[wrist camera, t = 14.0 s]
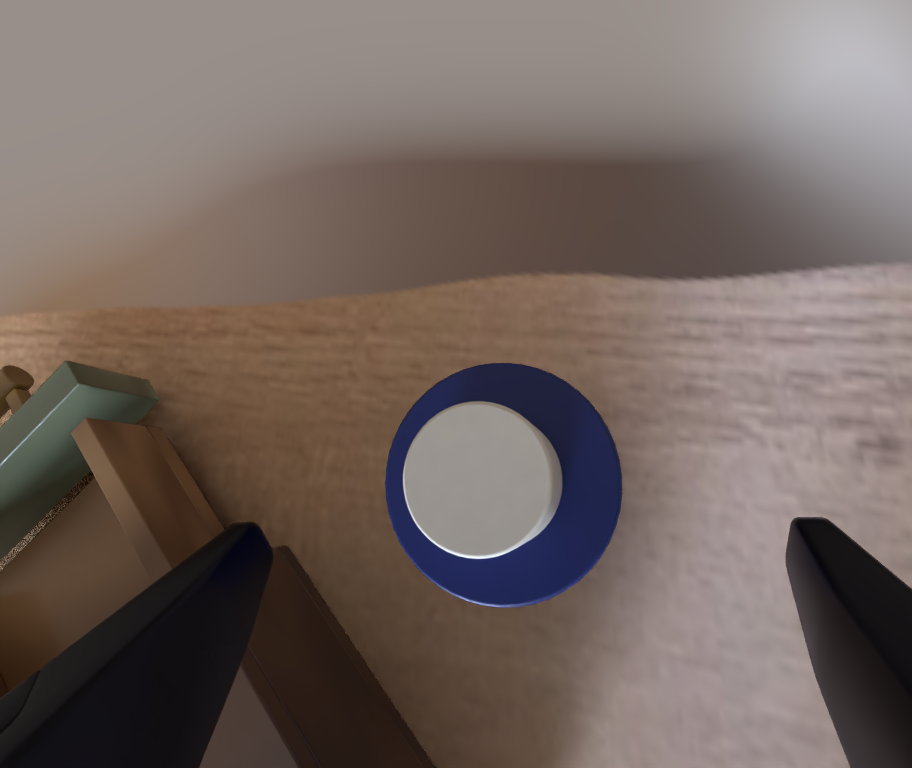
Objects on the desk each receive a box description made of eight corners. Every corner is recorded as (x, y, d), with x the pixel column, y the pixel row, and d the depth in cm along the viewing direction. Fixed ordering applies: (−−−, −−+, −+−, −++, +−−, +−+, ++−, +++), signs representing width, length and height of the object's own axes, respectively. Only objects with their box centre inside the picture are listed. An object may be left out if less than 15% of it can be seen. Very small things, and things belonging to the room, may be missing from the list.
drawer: (-69, 502, 24) (-179, 504, 21) (109, 319, 24) (25, 290, 20) (74, 850, 19) (-42, 927, 16) (309, 631, 18) (241, 662, 15)
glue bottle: (637, 533, 17) (671, 589, 7) (505, 568, 18) (379, 662, 8) (591, 402, 18) (566, 299, 8) (469, 442, 19) (320, 390, 9)
